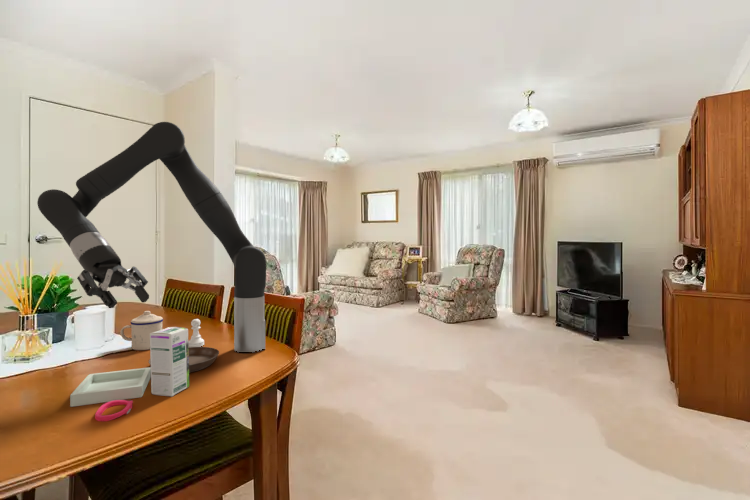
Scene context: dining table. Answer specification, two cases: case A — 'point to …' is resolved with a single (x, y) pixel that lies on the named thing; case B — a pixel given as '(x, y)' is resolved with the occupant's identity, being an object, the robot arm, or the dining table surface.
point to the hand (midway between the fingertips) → (130, 302)
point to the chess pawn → (195, 335)
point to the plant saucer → (200, 357)
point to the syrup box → (169, 361)
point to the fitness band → (109, 417)
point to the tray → (111, 386)
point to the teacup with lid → (143, 330)
